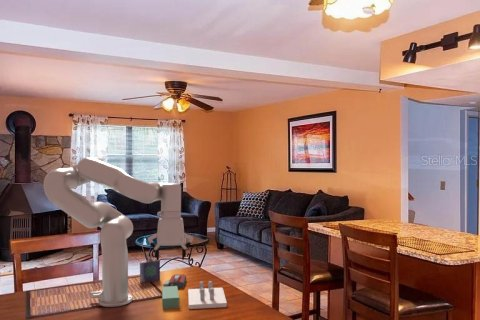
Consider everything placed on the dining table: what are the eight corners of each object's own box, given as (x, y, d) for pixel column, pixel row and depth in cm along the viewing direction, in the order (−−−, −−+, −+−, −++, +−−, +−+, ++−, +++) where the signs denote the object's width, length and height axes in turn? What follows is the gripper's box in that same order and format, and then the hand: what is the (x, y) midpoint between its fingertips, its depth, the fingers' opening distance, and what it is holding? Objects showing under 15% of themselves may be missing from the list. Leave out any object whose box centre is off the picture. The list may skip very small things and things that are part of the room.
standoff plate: (188, 308, 152) (188, 294, 152) (188, 292, 169) (188, 279, 169) (226, 306, 153) (226, 292, 153) (222, 291, 171) (222, 277, 171)
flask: (140, 283, 182) (140, 259, 182) (138, 281, 185) (138, 257, 185) (160, 280, 187) (160, 256, 187) (158, 278, 190) (158, 255, 190)
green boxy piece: (162, 309, 152) (162, 298, 152) (162, 296, 166) (162, 286, 166) (179, 308, 153) (179, 297, 153) (177, 295, 167) (177, 285, 167)
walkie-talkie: (167, 280, 188) (160, 295, 168) (167, 270, 188) (160, 284, 168) (187, 280, 188) (181, 295, 168) (187, 270, 188) (181, 284, 168)
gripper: (147, 216, 154) (146, 262, 155) (193, 216, 157) (193, 261, 157) (148, 213, 162) (148, 257, 162) (193, 213, 164) (192, 256, 164)
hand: (170, 259), depth 160 cm, fingers open, 9 cm apart
